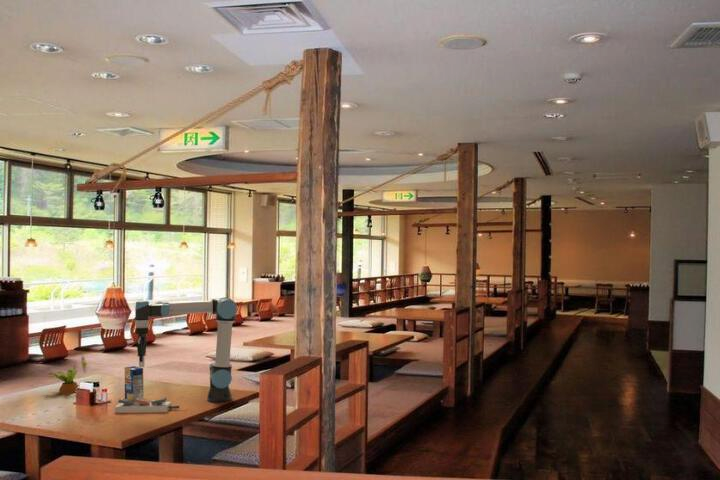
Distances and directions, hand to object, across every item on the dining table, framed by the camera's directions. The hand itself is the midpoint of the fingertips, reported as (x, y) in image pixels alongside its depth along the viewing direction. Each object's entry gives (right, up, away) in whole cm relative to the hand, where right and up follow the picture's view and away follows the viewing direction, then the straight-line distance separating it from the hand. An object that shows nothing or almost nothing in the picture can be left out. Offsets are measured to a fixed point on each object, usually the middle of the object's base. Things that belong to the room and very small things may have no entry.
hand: (141, 366), depth 398 cm
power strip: (+4, -26, 0) cm, 26 cm away
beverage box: (-10, -26, +17) cm, 33 cm away
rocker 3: (+11, -20, -1) cm, 23 cm away
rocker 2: (+1, -20, -1) cm, 20 cm away
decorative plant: (-67, -27, +53) cm, 89 cm away
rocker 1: (-8, -20, -1) cm, 22 cm away
